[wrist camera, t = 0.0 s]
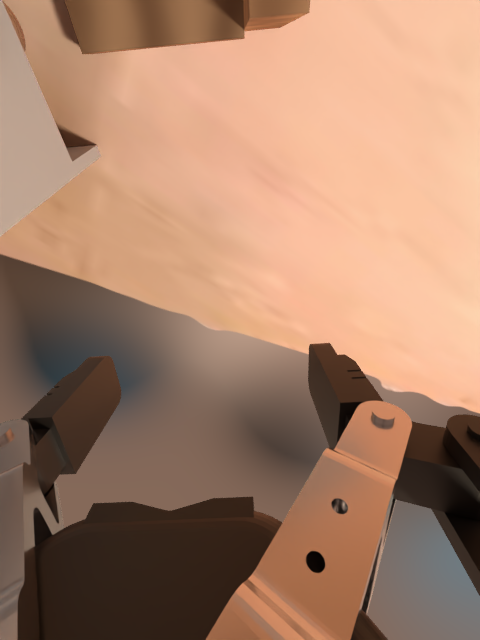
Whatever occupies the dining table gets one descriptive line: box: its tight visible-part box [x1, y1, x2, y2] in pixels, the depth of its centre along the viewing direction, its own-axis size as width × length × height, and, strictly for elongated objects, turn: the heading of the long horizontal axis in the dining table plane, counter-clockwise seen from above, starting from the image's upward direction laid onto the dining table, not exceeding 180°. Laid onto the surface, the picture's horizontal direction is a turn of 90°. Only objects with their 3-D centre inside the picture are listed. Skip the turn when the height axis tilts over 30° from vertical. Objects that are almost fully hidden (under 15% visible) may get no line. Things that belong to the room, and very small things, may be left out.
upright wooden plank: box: [64, 0, 310, 54], centre depth 21 cm, size 18×4×14 cm, turn 94°
